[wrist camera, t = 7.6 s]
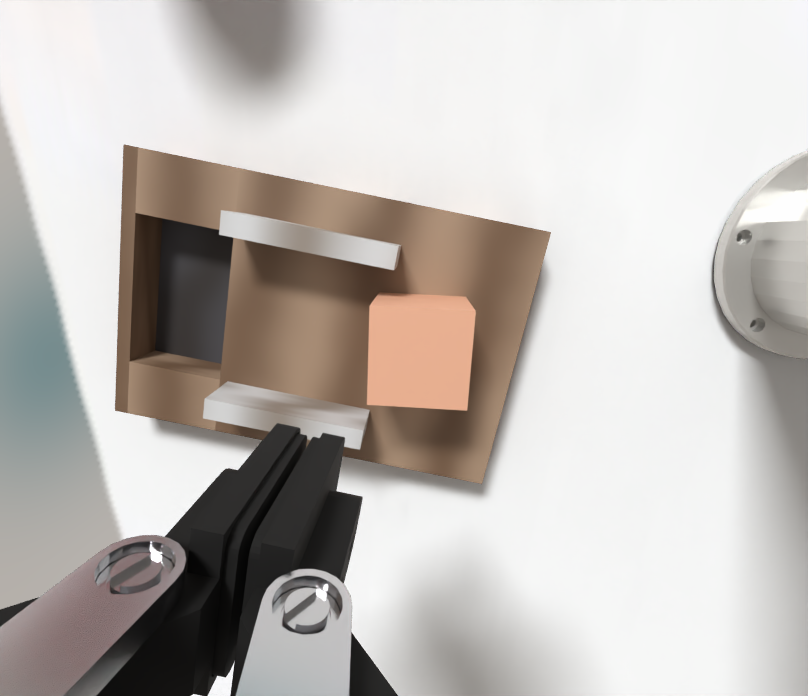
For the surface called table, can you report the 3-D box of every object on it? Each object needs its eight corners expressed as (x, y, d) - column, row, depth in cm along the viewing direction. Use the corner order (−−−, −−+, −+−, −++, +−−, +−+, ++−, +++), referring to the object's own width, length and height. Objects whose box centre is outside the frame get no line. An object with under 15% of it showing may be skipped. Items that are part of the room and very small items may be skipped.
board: (537, 232, 27) (568, 231, 21) (476, 460, 31) (488, 512, 25) (155, 154, 27) (82, 131, 21) (143, 394, 31) (79, 430, 25)
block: (465, 296, 25) (475, 311, 21) (459, 378, 27) (467, 410, 22) (379, 292, 26) (369, 305, 21) (377, 374, 27) (366, 404, 22)
